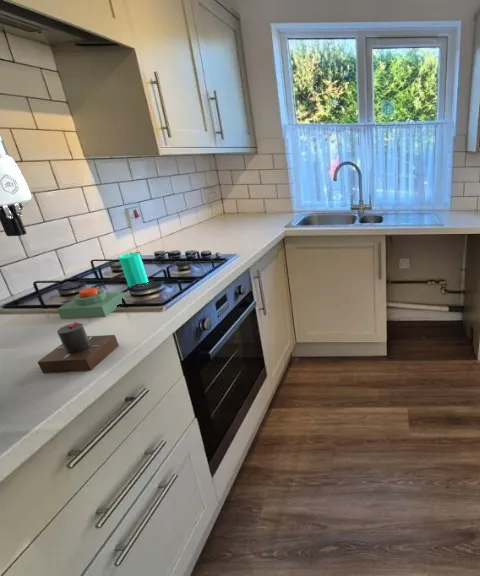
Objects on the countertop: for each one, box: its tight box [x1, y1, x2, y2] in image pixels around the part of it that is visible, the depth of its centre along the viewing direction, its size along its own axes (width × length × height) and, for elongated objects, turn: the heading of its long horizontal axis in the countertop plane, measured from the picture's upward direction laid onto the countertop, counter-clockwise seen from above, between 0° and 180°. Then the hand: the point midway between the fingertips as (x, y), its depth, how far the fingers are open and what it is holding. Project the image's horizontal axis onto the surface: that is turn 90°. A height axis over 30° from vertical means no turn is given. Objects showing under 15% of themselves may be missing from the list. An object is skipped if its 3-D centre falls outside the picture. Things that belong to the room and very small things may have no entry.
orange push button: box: [78, 286, 98, 298], centre depth 103 cm, size 4×4×2 cm
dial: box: [56, 321, 90, 353], centre depth 80 cm, size 4×4×5 cm
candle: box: [118, 249, 149, 288], centre depth 121 cm, size 6×6×12 cm
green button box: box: [56, 289, 127, 320], centre depth 104 cm, size 12×10×5 cm
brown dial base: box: [37, 334, 120, 374], centre depth 82 cm, size 10×10×3 cm
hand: (16, 235), depth 84 cm, fingers closed
